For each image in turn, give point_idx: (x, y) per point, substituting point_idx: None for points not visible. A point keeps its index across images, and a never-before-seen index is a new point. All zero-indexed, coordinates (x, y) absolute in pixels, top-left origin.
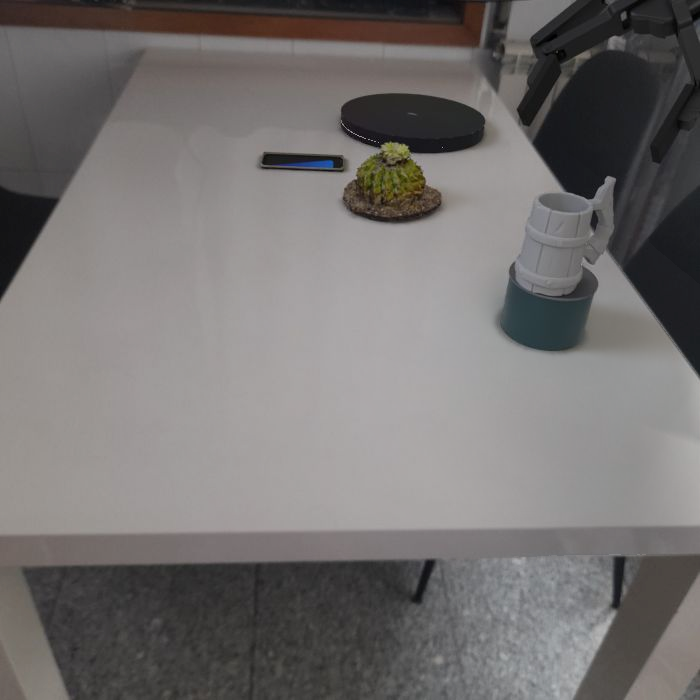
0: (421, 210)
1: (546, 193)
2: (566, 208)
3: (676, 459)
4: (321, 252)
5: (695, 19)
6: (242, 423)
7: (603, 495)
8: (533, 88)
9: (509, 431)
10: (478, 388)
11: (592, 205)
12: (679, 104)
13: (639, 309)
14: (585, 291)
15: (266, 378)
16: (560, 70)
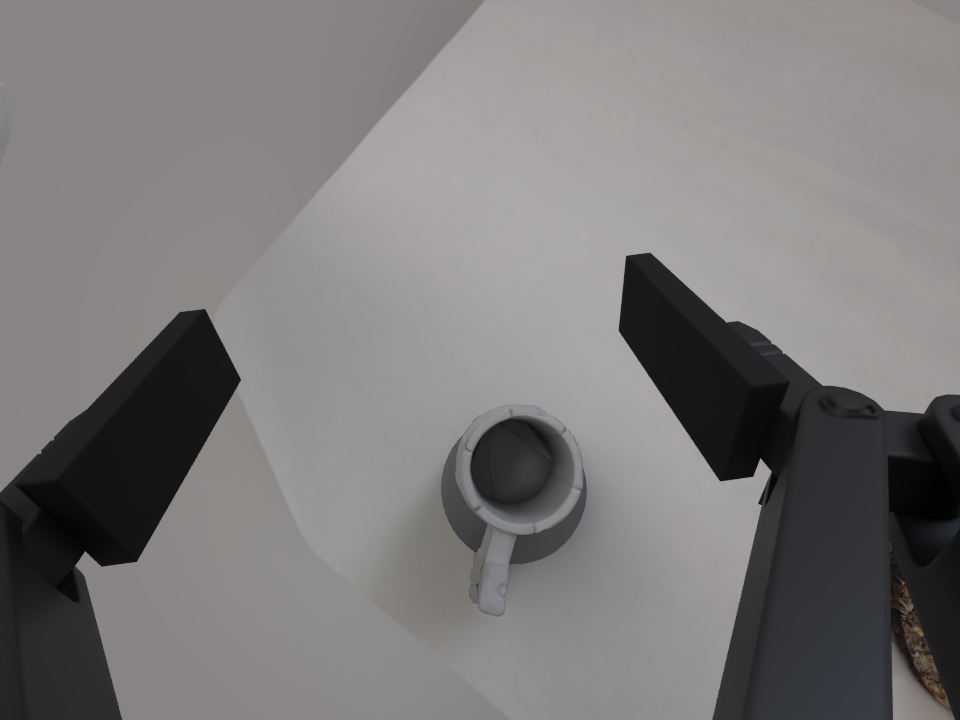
0: (904, 611)
1: (575, 478)
2: (539, 515)
3: (255, 385)
4: (850, 365)
5: None
6: (570, 87)
7: (282, 280)
8: (672, 291)
9: (398, 279)
10: (468, 307)
11: (478, 513)
12: (101, 407)
13: (449, 658)
14: (451, 488)
15: (619, 140)
16: (721, 464)
